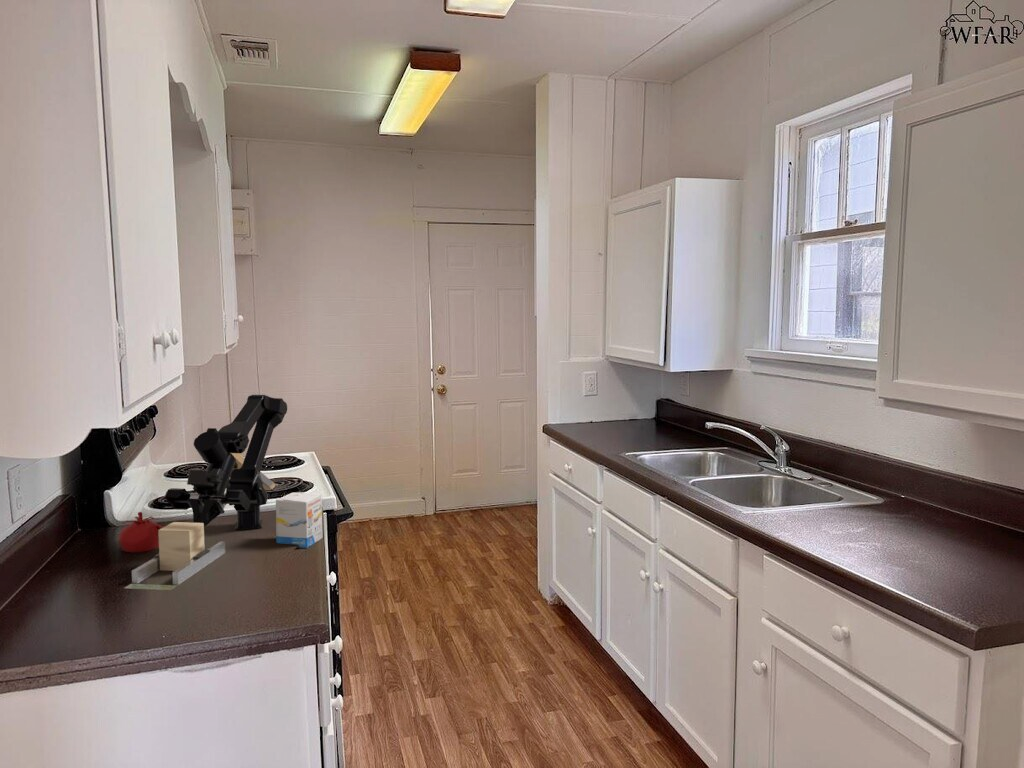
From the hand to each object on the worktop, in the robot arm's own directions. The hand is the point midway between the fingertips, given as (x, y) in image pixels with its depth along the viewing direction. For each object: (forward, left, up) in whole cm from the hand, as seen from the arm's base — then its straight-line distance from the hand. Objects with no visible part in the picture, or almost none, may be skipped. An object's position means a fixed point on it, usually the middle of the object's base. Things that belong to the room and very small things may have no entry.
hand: (195, 532), depth 160 cm
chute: (+6, -3, -7) cm, 9 cm away
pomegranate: (-12, -13, -7) cm, 19 cm away
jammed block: (+5, -2, -6) cm, 8 cm away
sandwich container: (-58, +14, -7) cm, 60 cm away
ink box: (-6, +23, -7) cm, 25 cm away
